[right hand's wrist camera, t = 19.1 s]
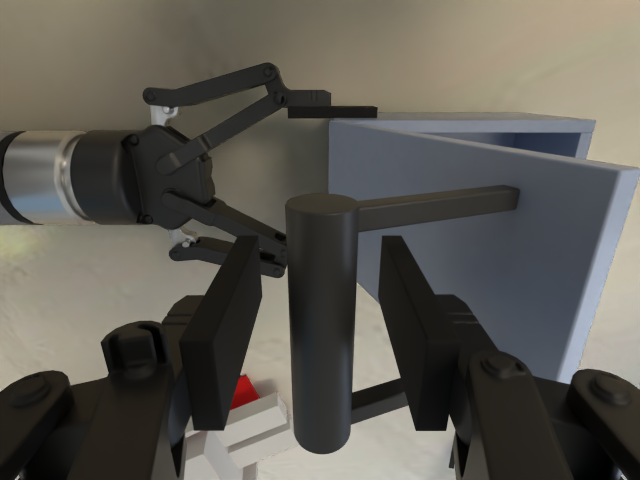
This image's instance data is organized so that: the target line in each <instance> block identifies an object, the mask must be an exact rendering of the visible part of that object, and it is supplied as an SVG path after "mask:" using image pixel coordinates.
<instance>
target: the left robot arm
mask: <svg viewBox="0 0 640 480" xmlns="http://www.w3.org/2000/svg"><path fill="white" fill-rule="evenodd" d="M262 85H265V86H266V89H267V91H268V94H269V95H267V96H265V97H264V98H262V99H260V100H259V101H257V102H255V103H254V104H252V105H250V106H249V107H247V108H245V109H244V110H242V111H240V112H239V113H237V114H235V115H234V116H232V117H230V118H229V119H227V120H225V121H224V122H222V123H220V124H219V125H217V126H215V127H214V128H212V129H210V130H209V131H207V132H205V133H204V134H202V135H200V136H198V137H196V138H195V139H193V140H190V139H189V138H187V137H186V136H184V135H183V134H181V133H180V132H178V131H177V130H175V129H174V128H172V127H171V126H169V121H170V120H171V118H173V117H178V116H179V115H180V114H181V113H182V106H192V105H196V104H200V103H203V102H207V101H210V100H214V99H217V98H221V97H224V96H227V95H231V94H234V93H238V92H241V91H245V90H248V89H251V88H255V87H258V86H262ZM143 99H144V100H145V102H146V103H147V104H149V105H150V112H151V126H149V127H147V128H146V129H144V130H103V131H89V132H84V131H81V130H75V131H19V132H5V131H0V225H93V224H96V223H98V224H101V225H148V224H154V225H158V226H160V227H163V228H165V229H167V230H169V234H170V238H171V242H172V246H173V248H172V249H171V250H170V252H169V256H170V258H171V259H172V260H174V261H186V260H201V261H205V262H210V263H214V264H218V265H222V264H223V262H224V260H225V259H226V257H227V255H228V253H229V252H230V250H231V248H232V246H233V244H234V243H232V242H228V241H224V240H219V239H215V238H211V237H198V234H197V233H196V232H192V231H188V230H186V229H185V228H184V224H185V223H187V222H188V221H189V220H191V219H192V218H193V219H195V220H197V221H199V222H201V223H203V224H205V225H208V226H215V227H217V228H219V229H222V230H224V231H226V232H228V233H230V234H232V235H234V236H236V237H238V236H239V235H258V242H259V248H261V249H263V250H261V249H259V257H260V271H261V275H266V276H270V277H274V278H280V277H282V276H283V275H284V273H285V269H286V266H287V238H286V234H284V233H282V232H280V231H278V230H276V229H274V228H272V227H270V226H268V225H266V224H264V223H262V222H260V221H257V220H255V219H253V218H251V217H249V216H247V215H245V214H243V213H241V212H239V211H237V210H235V209H233V208H231V207H229V206H227V205H226V204H225V202H224V201H222V200H220V199H218V198H216V197H214V195H215V187H214V183H213V180H212V178H211V172H212V159H211V157H209V156H208V154H207V152H208V151H210V150H212V149H213V148H215V147H217V146H218V145H220V144H222V143H223V142H225V141H227V140H228V139H230V138H232V137H233V136H235V135H237V134H238V133H240V132H242V131H244V130H245V129H247V128H249V127H250V126H252V125H254V124H255V123H257V122H259V121H261V120H262V119H264V118H266V117H267V116H269V115H271V114H272V113H274V112H276V111H277V110H279V109H281V108H288V118H377V110H378V107H374V106H331V93H330V92H327V91H325V90H290V89H288V88H287V87H286V86H285V85H284V83H283V80H282V78H281V75H280V71H279V69H278V68H277V67H276V66H275V65H273V64H271V63H263V64H260V65H256V66H253V67H249V68H246V69H243V70H239V71H236V72H233V73H229V74H226V75H222V76H219V77H216V78H212V79H209V80H206V81H202V82H199V83H195V84H192V85H189V86H185V87H182V88H179V89H169V88H146V89H145V90H144V92H143Z"/></svg>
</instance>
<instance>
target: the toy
mask: <svg viewBox="0 0 640 480" xmlns="http://www.w3.org/2000/svg"><path fill="white" fill-rule="evenodd" d="M185 436H186V442H187V451H186V462H185V472H184V480H257V473H258V463H257V462H258V461H260V460H263V459H265V458H268V457H270V456H273V455H275V454H278V453H280V452H283V451H285V450H288V449H290V448H293V447H295V446H298V445H299V443H298V442H297V440H296V438H295V435H294V426H293V420H292V418H291V416H290V414H289V415H287V410H286V407H285V405H284V403H283V401H282V399H281V397H280V395H279V393H278V392H275V393H273V394H270V395H268V396H265V397H263V398H260V397H259V396H258V394H257V392H256V391H255V389H254V387H253V386H252V384H251V382H250V381H249V379H248V377H247V376H246V375H245V376H242V377H240V378H239V380H238V383H237V387H236V391H235V394H234V398H233V401H232V405H231V408H230V412H229V415H228V419H227V422H226V426H225V429H224V431H194V428H193V422H192V417H190V419H189V422H188V424H187V427H186V429H185Z"/></svg>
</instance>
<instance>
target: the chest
mask: <svg viewBox="0 0 640 480" xmlns="http://www.w3.org/2000/svg"><path fill="white" fill-rule="evenodd" d="M332 121H345V122H352V123H358V124H364V125H371V126H377V127H383V128H390V129H396V130H402V131H409V132H415V133H421V134H428V135H434V136H440V137H447V138H453V139H459V140H466V141H472V142H478V143H485V144H491V145H497V146H504V147H510V148H516V149H522V150H529V151H535V152H541V153H548V154H554V155H560V156H567V157H573V158H579V159H586V157H587V153H588V149H589V146H590V142H591V138H592V134H593V133H592V132H593V130H594V127H595V123H596V120H589V119H579V118H569V117H559V116H549V115H540V114H530V113H377V118H332Z"/></svg>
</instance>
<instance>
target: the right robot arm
mask: <svg viewBox="0 0 640 480" xmlns="http://www.w3.org/2000/svg"><path fill="white" fill-rule="evenodd" d="M261 299H262V286H261V271H260V257H259V242H258V235H239V236H238V237H237V239H236V241H235V243H234V244H233V246H232V248H231V250H230V252H229V253H228V255H227V257H226V259H225V260H224V262H223V264H222V266H221V267H220V269H219V271H218V273H217V274H216V276H215V278H214V280H213V281H212V283H211V285H210V287H209V288H208V290H207V292H206V294H205V295H187V296H185V297H184V298H182V299H181V300H179V301H178V302H177V303H175V304H174V305H173V307H172V308H171V310H170V311H169V312H168V314H167V316H166V317H165V318H164V320H163V321H162V324H161V323H159V322H154V321H138V322H133V323H129V324H126V325H124V326H121V327H119V328H116V329H115V330H113V331H112V332H110V333H109V334H107V335H106V336H105V338H104V339H103V340H102V341H101V346H102V350H103V353H104V357H105V361H106V365H107V368H108V372H109V374H108V376H107V377H106V378H102V379H99V380H94V381H90V382H85V383H81V384H76V385H70V382H69V379H68V376H67V375H65V374H64V373H63V372H59V371H53V370H51V371H44V372H38V373H35V374H32V375H28V376H26V377H23V378H22V379H20V380H18V381H16V382H14V383H12V384H10V385H9V386H8V387H6V388H5V389H4V390H2V391H1V392H0V480H15V478H16V477H17V476H18V475H19V477H20V478H19V479H18V480H184V472H185V462H186V451H187V442H186V436H185V429H186V427H187V424H188V422H189V419H190V417H192V422H193V428H194V431H224V429H225V426H226V422H227V419H228V415H229V412H230V408H231V405H232V401H233V398H234V394H235V391H236V387H237V383H238V380H239V376H240V373H241V369H242V366H243V362H244V359H245V355H246V352H247V348H248V345H249V341H250V338H251V334H252V331H253V327H254V324H255V320H256V316H257V313H258V309H259V306H260V302H261ZM378 299H379V302H380V306H381V309H382V313H383V316H384V320H385V324H386V327H387V331H388V334H389V338H390V341H391V345H392V348H393V352H394V355H395V359H396V362H397V366H398V369H399V373H400V376H401V380H402V383H403V387H404V391H405V394H406V398H407V401H408V405H409V408H410V412H411V415H412V419H413V422H414V426H415V429H416V431H446V428H447V422H448V417H449V415H450V417H451V420H452V422H453V425H454V427H455V436H454V441H453V446H452V452H451V457H450V463H449V468H453V469H454V464H455V471H456V480H624V479H623V478H622V477H621V474H622V473H623V474H624V476H625V477H626V478H627V480H640V390H639V389H638V388H637V387H635V386H634V385H633V384H631V383H630V382H628V381H626V380H624V379H622V378H620V377H618V376H616V375H614V374H611V373H607V372H604V371H601V370H593V369H584V370H578V371H577V372H576V373H575V374H573V376H572V379H571V382H570V384H567V383H562V382H557V381H553V380H548V379H544V378H540V377H536V376H533V375H532V373H531V371H530V370H529V369H528V367H527V366H526V364H524V363H523V362H522V361H520V360H519V359H518V358H517V357H514V356H512V355H510V354H508V353H506V352H502V351H499V350H498V348H497V347H496V346H495V344H494V343H493V341H492V340H491V338H490V337H489V335H488V334H487V333H486V331H485V330H484V328H483V327H482V325H481V324H479V321H478V320H477V318H476V317H475V315H473V312H472V311H471V310H470V308H469V307H468V305H467V304H466V303H465V302H464V301H462V300H461V299H460V298H458V297H457V296H455V295H454V294H434V292H433V290H432V288H431V287H430V285H429V283H428V281H427V280H426V278H425V276H424V274H423V273H422V271H421V269H420V267H419V266H418V264H417V262H416V260H415V259H414V257H413V255H412V253H411V252H410V250H409V248H408V246H407V244H406V243H405V241H404V239H403V237H402V236H401V235H382V242H381V257H380V271H379V286H378Z"/></svg>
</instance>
